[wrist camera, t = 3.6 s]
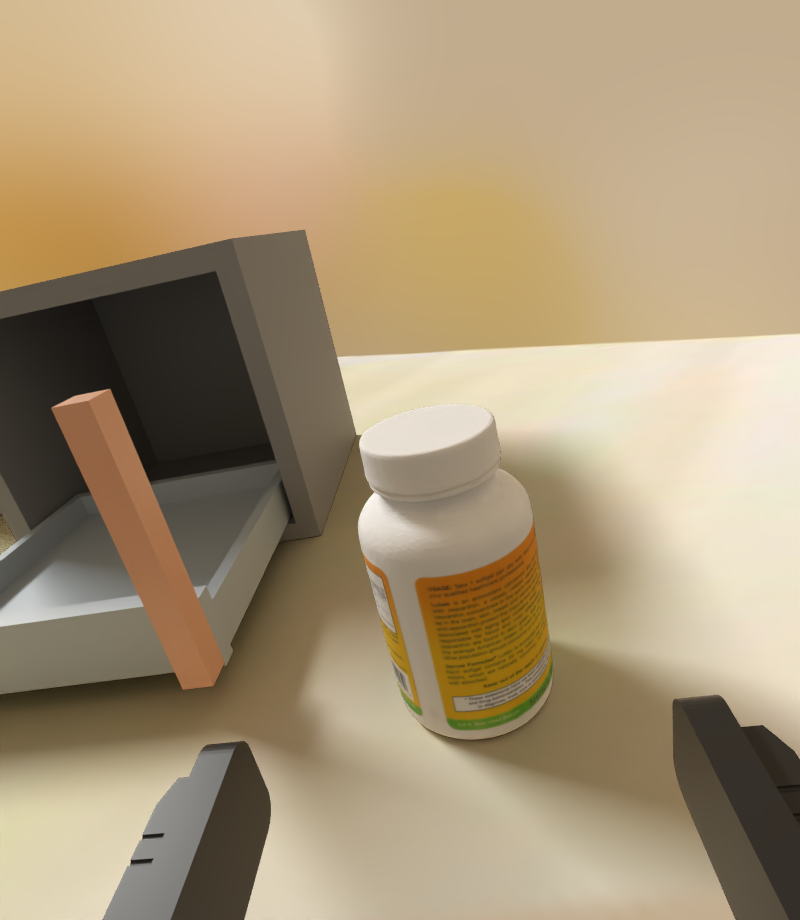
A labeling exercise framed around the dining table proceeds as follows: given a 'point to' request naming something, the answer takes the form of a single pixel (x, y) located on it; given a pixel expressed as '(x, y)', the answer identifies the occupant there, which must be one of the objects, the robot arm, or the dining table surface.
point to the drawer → (135, 565)
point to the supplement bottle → (455, 572)
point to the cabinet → (178, 373)
